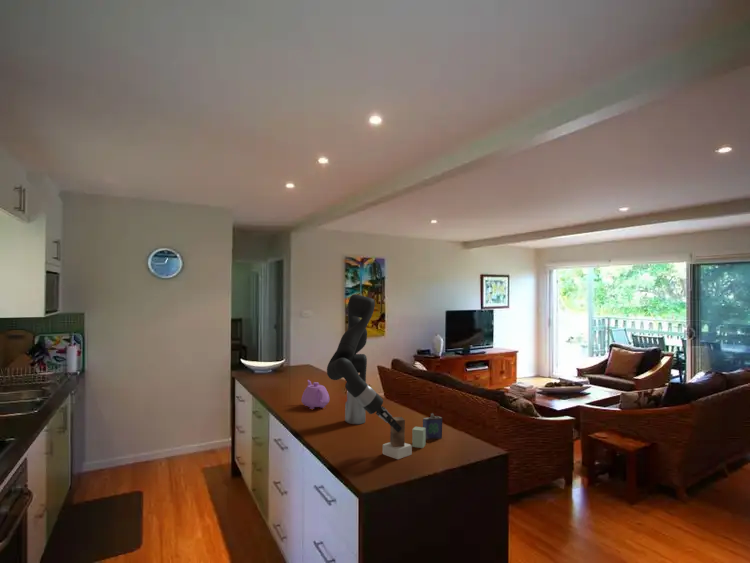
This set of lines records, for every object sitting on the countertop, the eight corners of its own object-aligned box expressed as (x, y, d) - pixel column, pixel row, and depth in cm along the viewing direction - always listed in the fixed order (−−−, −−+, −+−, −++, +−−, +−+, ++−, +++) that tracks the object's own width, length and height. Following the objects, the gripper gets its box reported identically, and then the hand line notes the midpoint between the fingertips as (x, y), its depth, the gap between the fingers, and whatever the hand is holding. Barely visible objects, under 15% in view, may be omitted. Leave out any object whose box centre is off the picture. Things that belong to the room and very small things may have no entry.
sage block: (412, 446, 172) (412, 429, 173) (414, 443, 177) (415, 426, 177) (422, 448, 171) (423, 430, 171) (425, 444, 175) (425, 427, 176)
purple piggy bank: (295, 404, 243) (295, 380, 244) (320, 401, 250) (321, 378, 251) (308, 412, 224) (308, 386, 224) (335, 409, 231) (335, 384, 232)
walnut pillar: (393, 447, 161) (393, 420, 161) (390, 442, 165) (390, 417, 166) (404, 446, 162) (404, 420, 162) (401, 442, 166) (401, 416, 167)
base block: (382, 454, 164) (382, 444, 164) (396, 450, 169) (396, 440, 169) (397, 460, 158) (397, 449, 158) (411, 455, 163) (411, 445, 164)
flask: (424, 440, 181) (424, 415, 181) (421, 438, 184) (421, 413, 184) (443, 438, 184) (443, 413, 184) (440, 436, 186) (440, 412, 187)
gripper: (380, 395, 156) (409, 424, 158) (370, 387, 169) (397, 415, 172) (366, 410, 154) (395, 440, 156) (357, 401, 168) (384, 429, 170)
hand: (396, 427), depth 164 cm, fingers open, 8 cm apart
